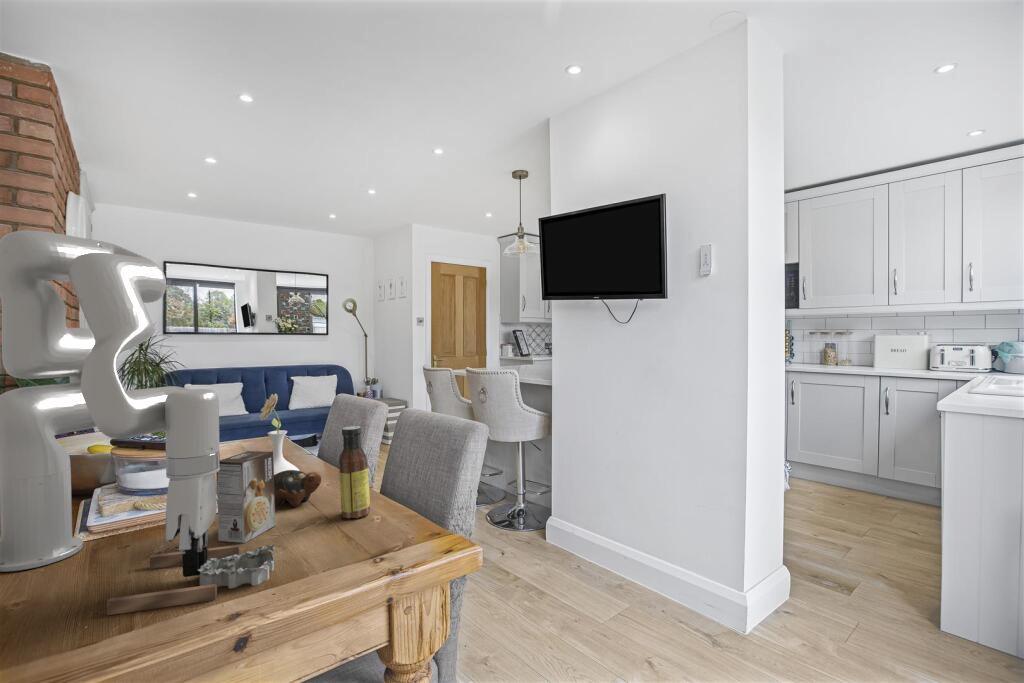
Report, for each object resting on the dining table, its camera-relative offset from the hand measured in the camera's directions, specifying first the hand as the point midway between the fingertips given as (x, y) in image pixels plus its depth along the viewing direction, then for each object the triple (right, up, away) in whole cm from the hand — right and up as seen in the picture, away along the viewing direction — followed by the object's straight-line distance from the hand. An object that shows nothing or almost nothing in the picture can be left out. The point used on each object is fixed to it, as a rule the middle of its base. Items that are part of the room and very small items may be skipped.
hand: (195, 573), depth 83 cm
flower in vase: (-12, -1, +55) cm, 56 cm away
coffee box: (-2, -1, +19) cm, 19 cm away
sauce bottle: (+17, -1, +29) cm, 34 cm away
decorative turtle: (-1, -1, +37) cm, 37 cm away
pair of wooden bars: (-2, -1, -1) cm, 2 cm away
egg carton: (+7, -1, 0) cm, 7 cm away
